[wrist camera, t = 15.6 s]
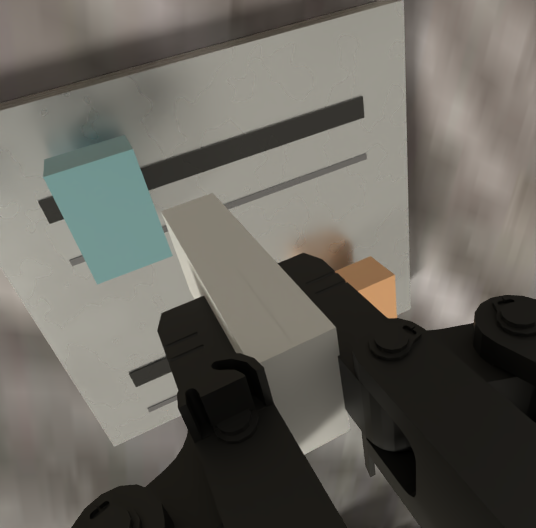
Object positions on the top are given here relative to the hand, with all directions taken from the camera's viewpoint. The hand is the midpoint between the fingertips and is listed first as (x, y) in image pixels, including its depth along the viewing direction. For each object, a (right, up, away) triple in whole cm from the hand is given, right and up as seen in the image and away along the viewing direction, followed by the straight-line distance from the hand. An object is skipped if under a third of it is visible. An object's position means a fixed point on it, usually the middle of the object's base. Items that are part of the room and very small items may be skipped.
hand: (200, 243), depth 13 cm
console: (0, +1, +11) cm, 11 cm away
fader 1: (-5, +2, +6) cm, 8 cm away
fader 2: (+6, -2, +13) cm, 15 cm away
